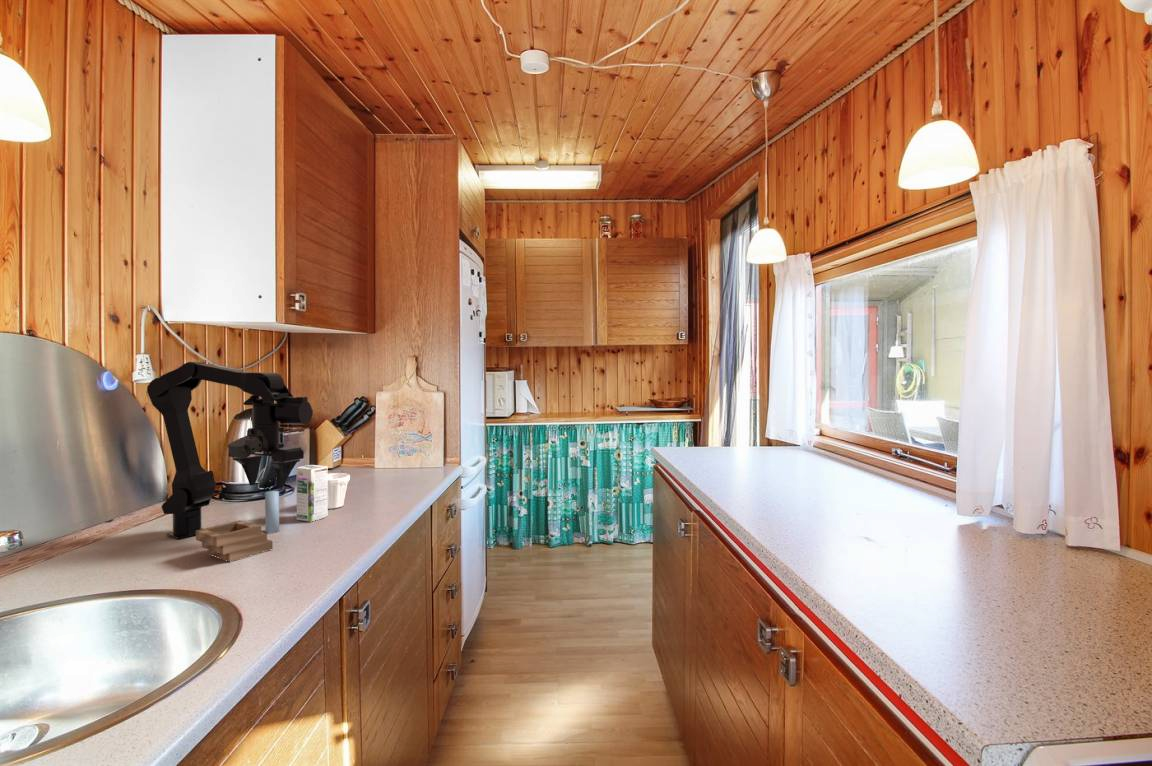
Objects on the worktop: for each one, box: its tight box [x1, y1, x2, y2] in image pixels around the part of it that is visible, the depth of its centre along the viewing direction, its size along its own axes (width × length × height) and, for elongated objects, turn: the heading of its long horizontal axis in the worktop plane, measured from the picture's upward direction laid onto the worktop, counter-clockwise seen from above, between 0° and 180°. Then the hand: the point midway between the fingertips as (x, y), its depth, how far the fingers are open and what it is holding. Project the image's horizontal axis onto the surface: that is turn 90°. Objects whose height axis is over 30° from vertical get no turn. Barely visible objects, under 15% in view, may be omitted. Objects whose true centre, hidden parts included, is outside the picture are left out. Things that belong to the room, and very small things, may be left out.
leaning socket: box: [195, 520, 274, 562], centre depth 114 cm, size 9×11×6 cm
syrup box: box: [296, 464, 329, 523], centre depth 141 cm, size 6×6×14 cm
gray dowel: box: [264, 490, 280, 533], centre depth 130 cm, size 3×3×10 cm
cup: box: [328, 472, 351, 510], centre depth 153 cm, size 10×10×9 cm
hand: (266, 486), depth 126 cm, fingers open, 9 cm apart
